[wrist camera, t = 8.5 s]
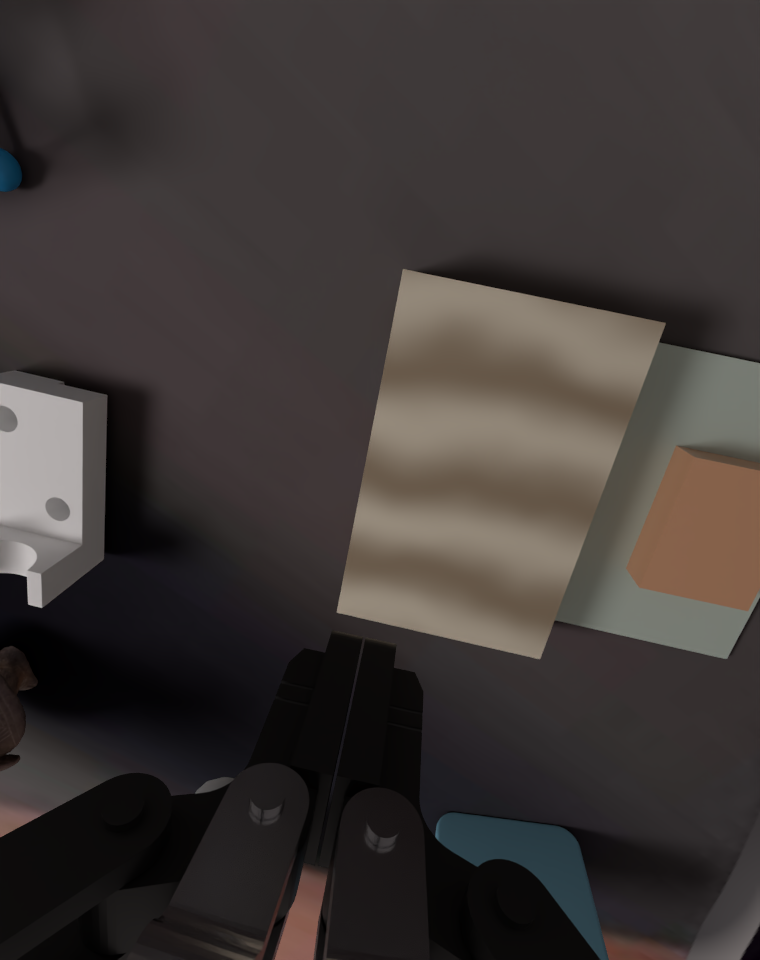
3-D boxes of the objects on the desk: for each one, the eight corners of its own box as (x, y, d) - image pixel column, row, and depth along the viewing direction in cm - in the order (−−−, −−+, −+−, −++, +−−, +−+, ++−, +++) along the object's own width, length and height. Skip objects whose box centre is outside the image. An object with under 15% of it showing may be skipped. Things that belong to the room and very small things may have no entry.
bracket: (111, 553, 40) (42, 607, 33) (25, 532, 41) (-62, 582, 34) (115, 392, 36) (36, 416, 29) (18, 369, 36) (-84, 387, 29)
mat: (640, 338, 31) (642, 339, 30) (867, 385, 30) (872, 386, 30) (540, 613, 38) (541, 617, 37) (723, 655, 37) (726, 659, 37)
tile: (815, 482, 30) (787, 468, 32) (694, 457, 30) (676, 445, 32) (747, 611, 33) (727, 590, 35) (639, 587, 33) (625, 568, 35)
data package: (432, 843, 47) (430, 1015, 36) (436, 808, 46) (436, 975, 34) (566, 862, 46) (608, 1044, 35) (575, 826, 45) (621, 1005, 33)
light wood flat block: (407, 272, 31) (403, 269, 27) (638, 319, 31) (666, 323, 27) (346, 581, 39) (336, 612, 35) (530, 623, 38) (539, 659, 34)
